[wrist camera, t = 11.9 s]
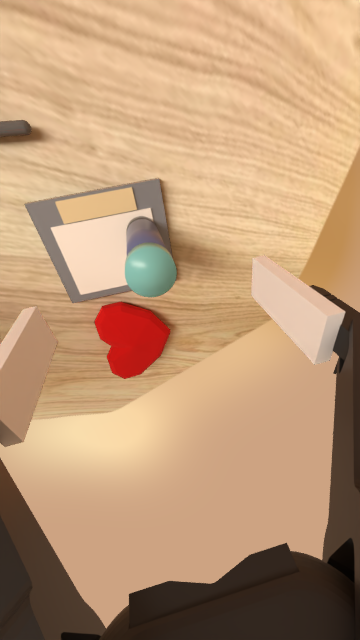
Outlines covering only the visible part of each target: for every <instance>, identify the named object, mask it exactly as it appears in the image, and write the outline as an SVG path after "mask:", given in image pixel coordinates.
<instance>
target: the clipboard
mask: <svg viewBox="0 0 360 640" xmlns="http://www.w3.org/2000/svg"><path fill="white" fill-rule="evenodd" d="M25 207H26V209H27V211H28V213H29V215H30V217H31V219H32V221H33V223H34V225H35V227H36V229H37V231H38V233H39V235H40V237H41V240H42V242H43V244H44V246H45V248H46V250H47V252H48V254H49V256H50V258H51V260H52V262H53V264H54V266H55V268H56V270H57V272H58V275H59V277H60V279H61V281H62V283H63V285H64V287H65V289H66V291H67V293H68V295H69V297H70V299H71V301H72V303H76V302H81V301H85V300H90V299H94V298H99V297H104V296H108V295H113V294H117V293H122V292H126V291H131V290H132V289H131V288H130V287H129V286H128V284H127V282H126V279H125V260H126V257H127V242H126V229H127V226H128V223H129V222H130V221H131V220H132V219H133V218H135V217H138V216H145V217H148V218H150V219H151V220H152V221H153V222H154V223H155V224H156V226H157V229H158V231H159V233H160V236H161V238H162V240H163V243H164V245H165V247H166V249H167V250H168V252H169V253H170V254H171V256H172V251H171V245H170V239H169V234H168V228H167V222H166V216H165V210H164V204H163V198H162V193H161V187H160V181H159V178H156V179H150V180H145V181H140V182H134V183H129V184H124V185H119V186H113V187H108V188H103V189H97V190H92V191H87V192H82V193H76V194H71V195H66V196H60V197H55V198H50V199H45V200H39V201H34V202H29V203H26V204H25ZM172 258H173V257H172ZM175 281H176V280H175Z"/></svg>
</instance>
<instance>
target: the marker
mask: <svg viewBox="0 0 360 640" xmlns="http://www.w3.org/2000/svg"><path fill="white" fill-rule="evenodd" d="M126 242H127V257H126V260H125V279H126V282H127V284H128V286H129V287H130V288H131V289H132V290H133V291H134V292H135V293H137V294H139V295H141V296H144V297H157V296H160V295H162V294H164V293H166V292H167V291H168V290H169V289H170V288H171V287H172V286H173V284H174V282H175V280H176V276H177V270H176V265H175V263H174V261H173V258H172V256H171V254H170V253H169V252H168V250H167V249H166V247H165V245H164V243H163V240H162V238H161V236H160V233H159V231H158V229H157V226H156V224H155V223H154V222H153V221H152V220H151V219H150V218H148V217H145V216H138V217H135V218H133V219H132V220H131V221H130V222H129V223H128V226H127V229H126Z"/></svg>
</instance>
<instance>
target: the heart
mask: <svg viewBox="0 0 360 640" xmlns="http://www.w3.org/2000/svg"><path fill="white" fill-rule="evenodd" d="M95 325H96V328H97V331H98V334H99V336H100V339H101V340H103V341H104V342H106V343H107V344H109V345H111V348H110V351H109V353H108V355H107V359H108V362H109V365H110V368H111V371H112V373H113V374H115V375H118V376H120V377H122V378H124V379H126V378H130V377H133V376H137V375H140V374H142V373H143V372H144V371H145V370H146V369H147V368H148V367H149V366H150V365H151V364H152V363H153V362H154V361H155V360H156V359H157V358H159V357H160V356H161V354H162V351H163V349H164V346H165V344H166V341H167V339H168V336H169V334H170V329H169V328H168V327H167V326H166V325H165V324H164V323H163V322H162V321H161V320H160V319H158V318H157V317H156V316H155V315H154V314H153V313H152V312H151V311H149V310H146V309H143V308H139V307H136V306H133V305H129V304H126V303H123V302H117V303H113V304H109V305H105V306H102V308H101V310H100V312H99V314H98V315H97V317H96V319H95Z"/></svg>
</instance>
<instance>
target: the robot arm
mask: <svg viewBox="0 0 360 640" xmlns="http://www.w3.org/2000/svg"><path fill="white" fill-rule="evenodd" d="M251 296H252V297H253V298H254V299H255V300H256V302H257V303H258V304H259V305H260V306H261V307H262V308H263V309H264V310H265V311H266V312H267V313H268V315H269V316H270V317H271V318H272V319H273V320H274V321H275V322H276V323H277V324H278V325H279V327H280V328H281V329H282V330H283V331H284V332H285V333H286V334H287V335H288V336H289V337H290V338H291V339H292V341H293V342H294V343H295V344H296V345H297V346H298V347H299V348H300V349H301V350H302V351H303V352H304V354H305V355H306V356H307V357H308V358H309V359H310V360H311V361H312V362H313V363H314V365H315V364H319V363H322V362H326V361H330V359H331V355H332V352H333V351H334V352H335V353H337V355H338V356H339V359H338V362H337V365H336V367H335V370H334V374H336V373H337V377H336V396H335V414H334V431H333V450H332V467H331V487H330V503H329V519H328V525H327V529H326V533H325V538H324V547H323V559H322V560H320V559H318V558H315V557H313V556H310V555H307V554H304V553H299V552H293V551H290V549H289V547H288V545H287V543H285V544H282V545H279V546H276V547H273V548H270V549H267V550H264V551H260V552H257V553H255V554H251V555H249V556H248V557H247V558H245V559H244V560H243V561H241V562H240V563H239V564H238V565H236V566H235V567H234V568H233V569H232V570H230V571H229V572H228V573H227V574H225V575H224V576H223V577H222V578H220V579H219V580H218V581H216V582H215V583H212V584H206V583H191V582H176V581H168V582H165V583H162V584H159V585H155V586H152V587H149V588H146V589H143V590H140V591H137V592H134V593H131V594H129V605H128V606H127V607H126V608H124V609H123V610H122V611H121V612H120V613H119V614H118V615H117V616H116V618H115V619H114V620H113V621H112V622H111V624H110V625H109V626H108V627H107V629H106V628H105V626H104V625H103V623H102V621H101V620H100V618H99V617H98V616H97V614H96V613H95V612H94V611H93V609H91V607H89V605H88V604H87V603H85V602H84V600H83V599H82V597H81V596H80V594H79V593H78V591H77V590H76V587H75V586H74V584H73V582H72V581H71V579H70V577H69V575H68V574H67V572H66V570H65V569H64V567H63V565H62V563H61V562H60V560H59V558H58V557H57V555H56V553H55V551H54V550H53V548H52V546H51V544H50V543H49V541H48V539H47V538H46V536H45V534H44V533H43V531H42V529H41V527H40V526H39V524H38V522H37V521H36V519H35V517H34V515H33V514H32V512H31V510H30V508H29V507H28V505H27V503H26V501H25V500H24V498H23V496H22V495H21V493H20V491H19V489H18V488H17V486H16V485H15V483H14V481H13V479H12V477H11V476H10V474H9V473H8V471H7V469H6V467H5V466H4V464H3V462H2V460H1V459H0V640H360V313H359V312H358V311H356V310H355V309H353V308H352V307H350V306H349V305H347V304H346V303H344V302H343V301H341V300H340V299H337V298H336V297H335V296H334V295H331V294H330V293H329V292H328V291H326V290H325V289H323V288H320V287H317V286H314V285H312V286H308V285H307V284H305V283H304V282H302V281H301V280H299V279H298V278H297V277H295V276H294V275H292V274H291V273H289V272H288V271H287V270H285V269H284V268H282V267H281V266H279V265H278V264H277V263H275V262H274V261H272V260H271V259H269V258H268V257H267V256H265V255H262V256H258V257H253V264H252V292H251ZM57 343H58V341H57V339H56V338H55V336H54V334H53V333H52V331H51V329H50V328H49V326H48V324H47V323H46V321H45V319H44V318H43V316H42V314H41V313H40V311H39V309H38V308H37V306H34V307H30V308H25V309H23V310H22V311H21V313H20V314H19V316H18V318H17V319H16V321H15V322H14V324H13V325H12V327H11V329H10V330H9V332H8V333H7V335H6V336H5V338H4V339H3V341H2V343H1V344H0V443H1V444H2V445H3V446H5V447H6V446H10V445H13V444H17V443H21V442H24V439H25V436H26V433H27V430H28V428H29V425H30V422H31V419H32V416H33V413H34V410H35V407H36V404H37V401H38V398H39V395H40V393H41V390H42V387H43V384H44V381H45V378H46V375H47V372H48V369H49V366H50V363H51V360H52V357H53V355H54V352H55V349H56V346H57Z"/></svg>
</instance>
